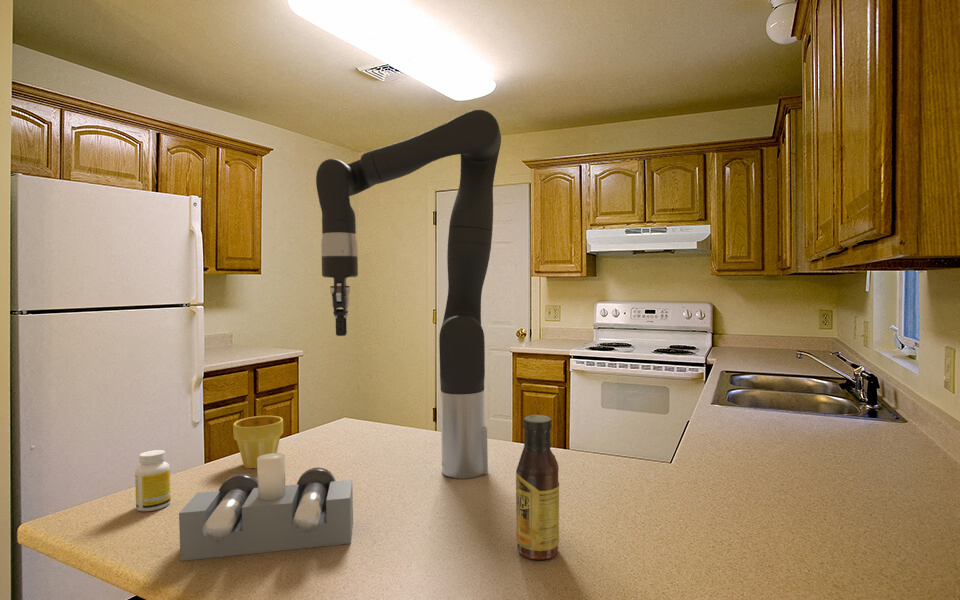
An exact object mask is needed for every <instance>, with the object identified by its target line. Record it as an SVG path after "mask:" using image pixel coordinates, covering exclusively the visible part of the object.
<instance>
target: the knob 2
mask: <svg viewBox="0 0 960 600" xmlns="http://www.w3.org/2000/svg"><path fill="white" fill-rule="evenodd" d="M333 481H337V480H336V478H335V476H334V474H333V473H332V472H331V471H329V470H328V469H327V468H324V467H312V468H309V469H307V470H305V471H304V472H303V473H302V474H301V475H300V476H299V478H298V480H297V483H296V485H297V484H299V500H300V502H299V505H298V508H297V510H296V513H295V516H294V519H293V525H294V527H295V529H296V530H297V531H298V532H300V533H310V532H312V531H314V530H315V529H316V528H317V526H318V524H319V520H320V516H321V512H322V508H323V504H324V503H326V499H327V495H328V491H329V487H330V482H333Z"/></svg>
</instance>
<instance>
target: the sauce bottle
mask: <svg viewBox="0 0 960 600" xmlns="http://www.w3.org/2000/svg"><path fill="white" fill-rule="evenodd" d="M552 424H553V422H552V418H551V417H549V416H548V415H543V414H532V415H531V414H529V415H526V416H525V417H524V418H523V423H522V425H523V428H524V429H523V430H524V442H523V443H524V445H523V449H522V452H521V455H520V458H519V462H518V465H517V467H516V469H515V470H516V472H515V486H516V487H515V490H516V491H515V492H516V493H515V504H516V505H515V507H516V509H515V512H516V515H515V517H516V518H515V521H516V523H515V524H516V525H515V526H516V527H515V528H516V532H515V533H516V534H515V535H516V542H517V550H518V552H519V553H520V555H523V556H524V557H525V558H527V559H529V560H536V561H541V560H549V559H552V558H554V557H556V556H557V554H558V551H559V544H560V482H559V463H558V461H557V459H556V455H554V454H553V452H552V450H551V448H552V443H551V429H552V427H553V426H552Z"/></svg>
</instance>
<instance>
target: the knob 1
mask: <svg viewBox="0 0 960 600" xmlns="http://www.w3.org/2000/svg"><path fill="white" fill-rule="evenodd" d="M254 488H258V478H256V477H255V476H254V475H251V474H250V473H243V472H241V473H235V474H233V475H231V476H229V477H228V478H226V480H225V481H224V482H223V483H222V484H221V485H220V487H219V489H218V491H221V502H220V503H219V505H218V506H217V507H216V509H215V510H214V512H213V513H212V514H211V516H210V517H209V518H208V520H207V521H206V522H205V524H204V526H203V534H204V536H205V538H206V539H207V540H209V541H211V542H220V541H222V540H224V539H225V538H227V536H228V535H229V533H230V532H231V530H232V528H233V527H234V525H235V523H236V522H237V520H238V518H239V517H240V515H241V513H242V506H243V505H244V503H245V502H246V500H247V498H248V497H249V495H250V493H251V492H252V490H253V489H254Z"/></svg>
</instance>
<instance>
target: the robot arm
mask: <svg viewBox="0 0 960 600" xmlns="http://www.w3.org/2000/svg"><path fill="white" fill-rule="evenodd" d="M501 135H502V134H501V130H500V126H499V123H498V121H497V119H496V117H495V116H494V115H493V114H492V113H490V112H489V111H488V110H484V109H472V110H469V111H467V112H465V113H463V114H460V115H459V116H457V117H455V118H453V119H450V120H448V121H447V122H445V123H443V124H441V125H439V126H437V127H435V128H432V129H429V130H428V131H425V132H423V133H420V134H418V135H415V136H413V137H409V138H407V139H403V140H401V141H397V142H395V143H391V144H389V145H384V146H382V147H378V148H375V149H371V150H369V151H366V152H364V153H363V154H361V156H360V158H359V159H357V160H356V161H353V162H351V163H350V162H349V163H346V162H343V161H341V160H340V159H336V158H328V159H325V160H324V161H322V162H321V163H320V165H319V166H318V167H317V170H316V175H315V185H316V192H317V197H318V201H319V206H320V210H321V214H322V215H321V233H322V234H321V235H322V236H321V245H320V246H321V247H320V248H321V250H320V251H321V276H322V277H323V278H327V279H328V278H333V285H331V286H330V291H329V292H330V295H331V306H332V308H333V317H334V319H335V335H336V336H337V337H344V336H347V333H348V330H347V329H348V327H347V326H348V324H347V318H348V313H349V310H348V308H349V306H350V294H351V286H350V285H347V279H348V278H357V277H358V276H359V269H358V268H359V267H358V265H359V263H358V259H359V258H358V241H357V240H358V239H357V232H356V231H357V230H356V229H357V228H356V227H357V226H356V225H357V223H356V213H355V210H354V209H353V207H352V205H351V200H350V197H351V196H355V195H357V194H359V193H360V194H361V193H362V192H364V191H366V190H368V189H370V188H372V187H373V186H375V185H379V184H383V183H386V182H389V181H393V180H396V179H400V178H402V177H404V176H407V175H410V174H412V173H414V172H416V171H418V170H420V169H421V168H424V166H426V165H428V164H430V163H432V162H435V161H438V160H441V159H444V158H447V157H451V156H452V157H453V156H457V155H460V178H459V179H460V180H459V186H458V190H457V193H456V196H455V200H454V202H453V206H452V210H451V214H450V218H449V219H450V220H449V225H448V237H447V256H446V257H447V259H446V261H447V265H446V266H447V282H448V284H447V286H448V288H447V297H446V298H447V299H446V304H445V311H444V314H443V319H442V325H441V327H440V331H439V334H438V335H439V337H438V341H439V342H438V343H439V344H438V345H439V346H438V347H439V377H440V378H439V382H440V386H439V387H440V423H441V425H440V427H441V428H440V431H441V439H440V440H441V471H442V474H443V475H444V476H446V477H447V478H448V477H450V478H454V479H471V478H476V477H480V476H482V475H488V474H489V467H488V466H489V463H488V459H489V458H488V455H489V453H488V452H489V451H488V428H487V427H486V422H485V421H486V418H485V416H486V415H485V413H486V412H485V411H486V410H485V407H486V406H485V379H486V377H485V376H486V375H485V374H486V368H485V367H486V365H485V363H486V359H485V358H486V356H485V355H486V351H485V348H486V345H485V344H486V343H485V332H484V329H483V326H482V292H483V286H484V283H485V279H486V275H487V271H488V268H489V267H488V266H489V262H490V256H491V251H492V241H493V226H494V182H495V181H494V180H495V175H496V170H497V164H498V158H499V153H500V150H501V145H502V136H501ZM340 308H341V309H340Z"/></svg>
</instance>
